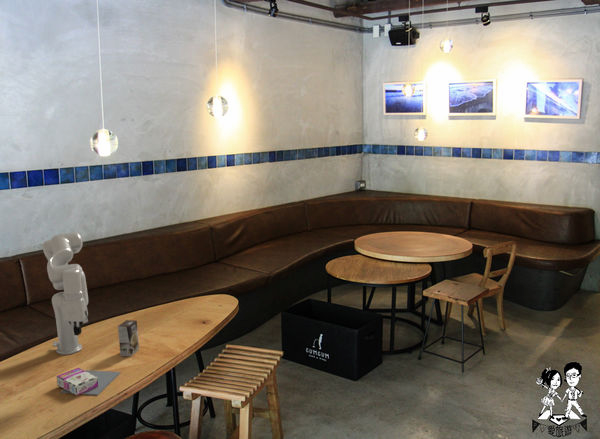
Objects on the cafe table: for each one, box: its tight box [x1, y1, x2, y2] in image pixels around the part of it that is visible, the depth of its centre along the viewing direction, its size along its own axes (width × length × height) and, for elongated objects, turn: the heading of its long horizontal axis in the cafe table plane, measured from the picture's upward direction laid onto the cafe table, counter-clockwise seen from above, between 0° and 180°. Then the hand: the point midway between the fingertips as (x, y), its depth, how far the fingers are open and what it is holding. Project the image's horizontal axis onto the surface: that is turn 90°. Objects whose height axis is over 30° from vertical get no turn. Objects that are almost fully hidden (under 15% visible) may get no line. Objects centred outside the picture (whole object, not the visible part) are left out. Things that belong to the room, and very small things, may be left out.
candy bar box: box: [56, 367, 98, 396], centre depth 268 cm, size 11×5×16 cm
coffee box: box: [117, 319, 140, 357], centre depth 304 cm, size 9×6×16 cm
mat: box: [59, 369, 121, 396], centre depth 273 cm, size 18×22×1 cm
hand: (77, 334), depth 269 cm, fingers closed
